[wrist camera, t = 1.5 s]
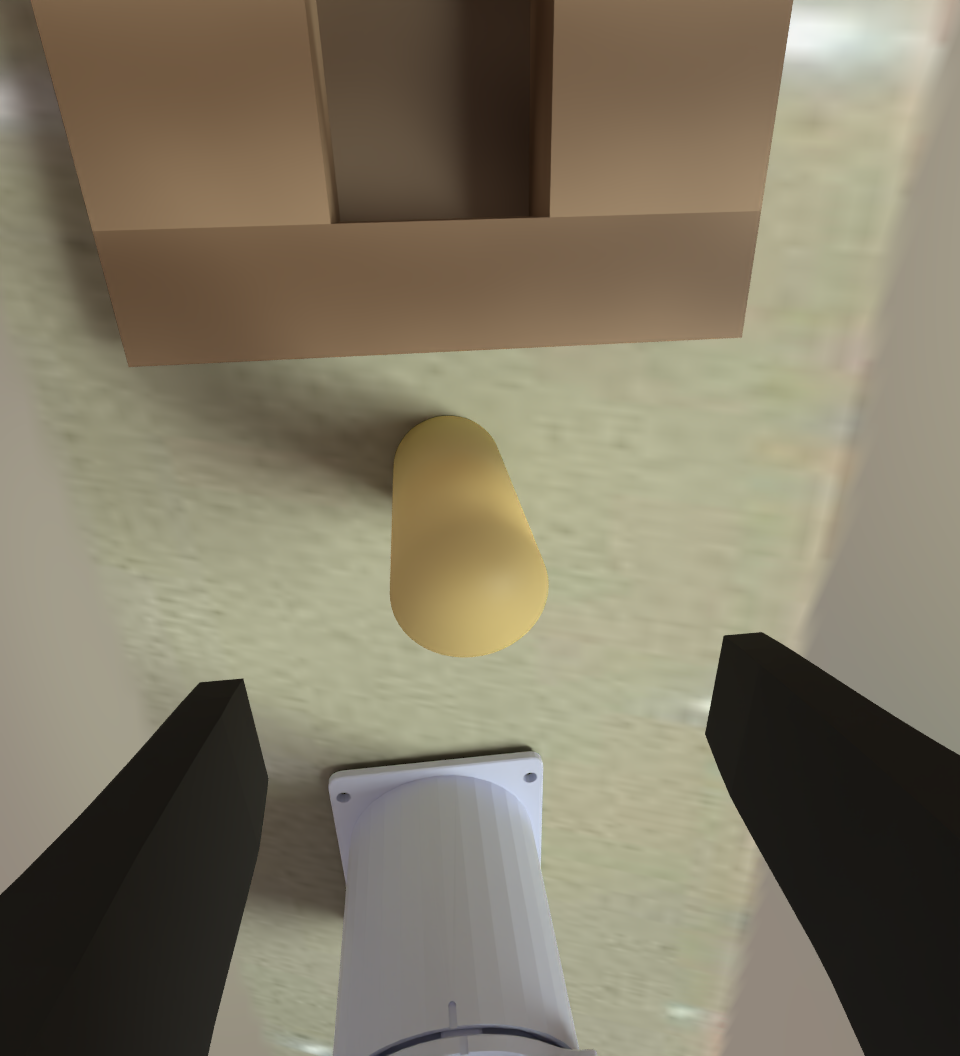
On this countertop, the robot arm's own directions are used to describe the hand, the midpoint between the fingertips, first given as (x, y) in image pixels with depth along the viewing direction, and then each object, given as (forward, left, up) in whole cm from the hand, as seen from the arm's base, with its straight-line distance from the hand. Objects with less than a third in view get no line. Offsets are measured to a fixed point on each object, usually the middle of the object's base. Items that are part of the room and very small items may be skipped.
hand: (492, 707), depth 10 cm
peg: (0, 0, -11) cm, 11 cm away
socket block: (+9, 0, -11) cm, 14 cm away
